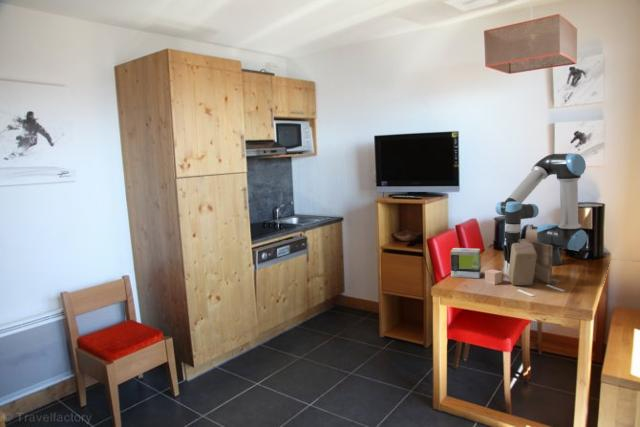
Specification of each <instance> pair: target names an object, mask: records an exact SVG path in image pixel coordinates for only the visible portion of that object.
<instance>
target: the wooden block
mask: <svg viewBox="0 0 640 427" xmlns="http://www.w3.org/2000/svg"><path fill="white" fill-rule="evenodd" d="M536 258H537V253H536V251H535V248H534V246H533V244H532V243H520V242H519V243H513V244H512V247H511V256H510V265H509V280H510V283H511V285H512V286H532V285H533V283H534V280H533V278H534V271H535V265H536Z"/></svg>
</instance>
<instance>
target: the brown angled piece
mask: <svg viewBox="0 0 640 427" xmlns="http://www.w3.org/2000/svg"><path fill="white" fill-rule="evenodd" d="M519 243H532V244H533V246H534V248H535V251H536V253H537V258H536V265H535V271H534V278H533V281H535V282H539V283H542V284H543V285H555V284H560V283H561V280H559V279H556V278H553V265H552V247H553V246H552V245H548V244H544V243H539V242H537V241H534V240H532V239H531V240H530V239H527V238H520V239H519Z"/></svg>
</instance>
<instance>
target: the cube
mask: <svg viewBox="0 0 640 427" xmlns="http://www.w3.org/2000/svg"><path fill="white" fill-rule="evenodd" d="M484 283H487V284H490V283H491V284H490V285H495V284H496V285H498V283H499V284H502V283H503V271H501V270H498V269H489V270H485V271H484Z"/></svg>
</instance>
